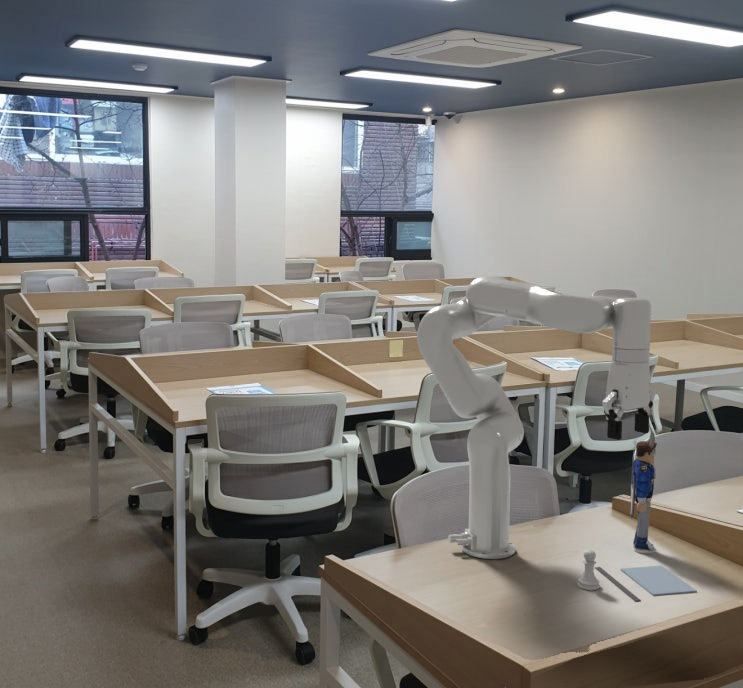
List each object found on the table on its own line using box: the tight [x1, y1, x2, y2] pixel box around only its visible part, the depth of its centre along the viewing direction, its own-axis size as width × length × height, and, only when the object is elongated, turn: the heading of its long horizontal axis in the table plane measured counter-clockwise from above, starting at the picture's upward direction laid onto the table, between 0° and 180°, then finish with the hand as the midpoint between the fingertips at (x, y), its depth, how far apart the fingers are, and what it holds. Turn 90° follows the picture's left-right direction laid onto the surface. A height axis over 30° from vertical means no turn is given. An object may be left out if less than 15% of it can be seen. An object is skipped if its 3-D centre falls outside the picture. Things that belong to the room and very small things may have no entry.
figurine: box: [630, 425, 658, 554], centre depth 201 cm, size 10×6×30 cm, turn 168°
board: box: [594, 565, 698, 602], centre depth 184 cm, size 15×18×1 cm
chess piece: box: [577, 549, 601, 591], centre depth 181 cm, size 5×5×8 cm
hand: (628, 435), depth 183 cm, fingers open, 9 cm apart
